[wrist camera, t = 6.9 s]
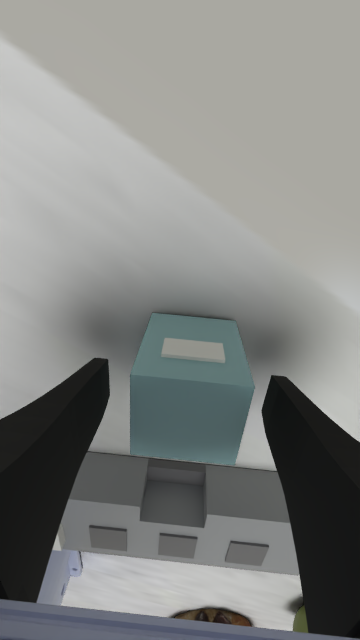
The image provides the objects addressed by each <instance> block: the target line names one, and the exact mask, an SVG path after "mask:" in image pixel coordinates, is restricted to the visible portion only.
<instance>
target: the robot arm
mask: <svg viewBox="0 0 360 640" xmlns="http://www.w3.org/2000/svg"><path fill="white" fill-rule="evenodd" d="M109 396H110V389H109V366H108V359H101V358H94V359H92V360H91V361H90V362H88V363H87V364H86V365H84V366H83V367H82V368H81V369H79V370H78V371H77V372H75V373H74V374H73V375H71V376H70V377H69V378H67V379H66V380H65V381H63V382H62V383H61V384H59V385H58V386H56V387H55V388H53V389H52V390H50V391H49V392H47V393H46V394H44V395H43V396H41V397H40V398H38V399H37V400H35V401H33V402H32V403H30V404H28V405H27V406H25V407H23V408H21V409H20V410H18V411H16V412H14V413H12V414H10V415H8V416H6V417H4V418H2V419H0V640H360V442H358V441H357V440H356V439H354V438H353V437H352V436H350V435H349V434H348V433H347V432H345V431H344V430H343V429H342V428H341V427H340V426H338V425H337V424H336V423H335V422H334V421H332V420H331V419H330V418H329V417H328V416H327V415H326V414H325V413H323V412H322V411H321V410H320V409H319V408H318V407H317V406H316V405H315V404H314V403H313V402H312V401H311V400H310V399H309V398H307V397H306V396H305V395H304V394H303V393H302V392H301V391H300V390H299V389H298V388H297V387H296V386H295V385H294V384H293V383H292V382H291V381H290V380H289V379H288V378H287V377H284V376H274V375H271V379H270V382H269V386H268V389H267V393H266V396H265V400H264V404H263V407H262V417H263V423H264V428H265V433H266V437H267V440H268V443H269V446H270V450H271V453H272V456H273V459H274V462H275V466H276V469H277V472H278V475H279V478H280V482H281V485H282V489H283V492H284V496H285V501H286V505H287V510H288V515H289V519H290V524H291V530H292V535H293V540H294V545H295V551H296V556H297V562H298V568H299V574H300V580H301V586H302V593H303V599H304V606H305V613H306V620H307V627H308V633H302V632H293V631H284V630H275V629H266V628H257V627H248V626H239V625H230V624H221V623H212V622H203V621H194V620H185V619H176V618H167V617H158V616H149V615H140V614H130V613H121V612H112V611H103V610H94V609H85V608H76V607H67V606H61V603H62V600H63V596H64V593H65V590H66V587H67V584H68V581H69V578H70V576H74V577H79V576H80V575H81V573H82V566H81V560H80V554H79V551H74V550H65V549H62V551H57V550H52V549H53V546H54V543H55V539H56V536H57V533H58V530H59V527H60V523H61V520H62V517H63V514H64V511H65V508H66V505H67V502H68V499H69V496H70V494H71V491H72V488H73V485H74V482H75V479H76V476H77V474H78V471H79V469H80V466H81V464H82V462H83V460H84V457H85V455H86V453H87V451H88V449H89V446H90V444H91V442H92V440H93V438H94V436H95V433H96V431H97V429H98V427H99V425H100V422H101V420H102V418H103V415H104V412H105V409H106V406H107V403H108V399H109Z"/></svg>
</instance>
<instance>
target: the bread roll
mask: <svg viewBox="0 0 360 640" xmlns="http://www.w3.org/2000/svg"><path fill="white" fill-rule="evenodd" d="M175 618H176V619H185V620H194V621H203V622H212V623H221V624H230V625H239V626H248V627H252V626H251V625H250V623H249V621H248V620H247V619H246V618H244V617H243V616H241V615H239V614H235V613H231V612H227V611H225V610H217V609H200V610H192V611H189V612H187V613H183V614H180V615H177V616H176V617H175Z"/></svg>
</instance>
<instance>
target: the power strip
mask: <svg viewBox="0 0 360 640" xmlns="http://www.w3.org/2000/svg"><path fill="white" fill-rule="evenodd" d="M62 549H65V550H74V551H83V552H92V553H100V554H109V555H118V556H127V557H136V558H145V559H154V560H163V561H172V562H181V563H190V564H199V565H208V566H217V567H226V568H235V569H244V570H253V571H262V572H271V573H280V574H288V575H297V576H298V575H299V568H298V562H297V556H296V551H295V545H294V540H293V535H292V530H291V524H290V519H289V515H288V510H287V505H286V501H285V496H284V492H283V489H282V485H281V482H280V478H279V475H278V472H273V471H263V470H254V469H244V468H235V467H225V466H216V465H206V464H197V463H188V462H178V461H169V460H159V459H150V458H140V457H131V456H121V455H112V454H102V453H93V452H87V453H86V455H85V457H84V460H83V462H82V464H81V466H80V469H79V471H78V474H77V476H76V479H75V482H74V485H73V488H72V491H71V494H70V496H69V499H68V502H67V505H66V508H65V511H64V514H63V517H62V520H61V523H60V527H59V530H58V533H57V536H56V539H55V543H54V546H53V549H52V550H57V551H62Z"/></svg>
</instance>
